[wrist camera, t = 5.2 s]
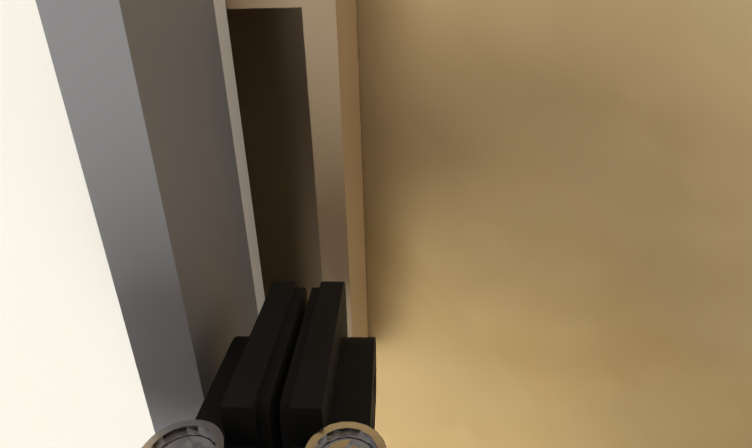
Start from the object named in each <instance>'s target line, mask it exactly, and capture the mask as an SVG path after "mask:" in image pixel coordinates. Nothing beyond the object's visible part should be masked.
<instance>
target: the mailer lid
mask: <svg viewBox="0 0 752 448" xmlns="http://www.w3.org/2000/svg"><path fill="white" fill-rule="evenodd" d="M264 301H265V295H264V288H263V280H262V273H261V265H260V258H259V250H258V243H257V236H256V228H255V221H254V213H253V206H252V198H251V191H250V183H249V176H248V169H247V161H246V154H245V146H244V139H243V131H242V124H241V116H240V109H239V102H238V94H237V87H236V79H235V72H234V64H233V57H232V49H231V42H230V35H229V27H228V20H227V12H226V5H225V0H0V448H142V447H143V445H144V444H145V443H146V442H147V441H148V440H149V439H150V438H151V437H152V436H153V435H154V434H156V433H157V432H159V431H160V430H162V429H163V428H165V427H167V426H169V425H172V424H174V423H176V422H181V421H185V420H195V419H196V416H197V414H198V412H199V410H200V408H201V406H202V404H203V401H204V399H205V397H206V395H207V393H208V391H209V389H210V387H211V384H212V382H213V380H214V378H215V376H216V374H217V372H218V370H219V367H220V365H221V363H222V361H223V359H224V357H225V355H226V353H227V350H228V348H229V346H230V344H231V342H232V340H233V339H234V338H235V337H236V336H250V334H251V332H252V329H253V327H254V325H255V322H256V320H257V317H258V315H259V313H260V310H261V308H262V306H263V303H264Z"/></svg>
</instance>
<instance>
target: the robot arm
mask: <svg viewBox="0 0 752 448" xmlns="http://www.w3.org/2000/svg"><path fill="white" fill-rule="evenodd" d="M375 406H376V339H375V337H348V331H347V309H346V288H345V282H343V281H322V282H321V284H320V287H313V288H312V289H311V293H310V296H309V300H308V298H307V290H306V287H299V285H298V282H297V281H274V282H273V283H272V285H271V287H270V289H269V292H268V294H267V296H266V299H265V301H264V303H263V306H262V308H261V310H260V313H259V315H258V317H257V320H256V322H255V325H254V327H253V329H252V332H251V334H250V336H236V337H235V338H234V339H233V340H232V342H231V344H230V346H229V348H228V350H227V353H226V355H225V357H224V359H223V361H222V363H221V365H220V367H219V370H218V372H217V374H216V376H215V378H214V380H213V382H212V384H211V387H210V389H209V391H208V393H207V395H206V397H205V399H204V401H203V404H202V406H201V408H200V410H199V412H198V414H197V416H196V419H195V420H185V421H181V422H176V423H174V424H172V425H169V426H167V427H165V428H163V429H162V430H160V431H159V432H157V433H156V434H154V435H153V436H152V437H151V438H150V439H149V440H148V441H147V442H146V443H145V444H144V445H143V447H142V448H386V445H385V442H384V440H383V438H382V437H381V436H380V435H379V434H378V432H377V431H375Z"/></svg>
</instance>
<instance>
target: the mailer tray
mask: <svg viewBox="0 0 752 448" xmlns="http://www.w3.org/2000/svg"><path fill="white" fill-rule="evenodd" d="M225 5H226V12H227V20H228V27H229V35H230V42H231V49H232V57H233V64H234V72H235V79H236V87H237V94H238V102H239V109H240V116H241V124H242V131H243V139H244V146H245V154H246V161H247V169H248V176H249V183H250V191H251V198H252V206H253V213H254V221H255V228H256V236H257V243H258V250H259V258H260V265H261V273H262V280H263V288H264V295H265V299H266V296H267V294H268V292H269V289H270V287H271V285H272V283H273V282H274V281H297V282H298V285H299V287H306V290H307V298H308V300H309V296H310V293H311V289H312V288H313V287H320V284H321V282H322V281H343V282H345V288H346V309H347V331H348V337H368V309H367V281H366V253H365V225H364V197H363V169H362V141H361V113H360V86H359V58H358V30H357V2H356V0H225Z"/></svg>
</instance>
